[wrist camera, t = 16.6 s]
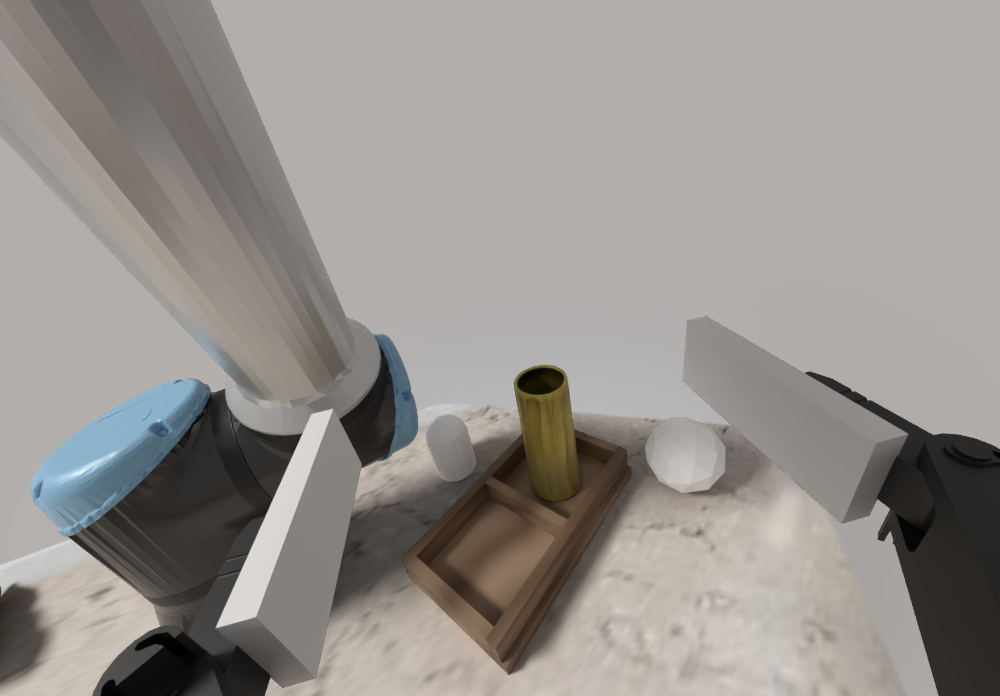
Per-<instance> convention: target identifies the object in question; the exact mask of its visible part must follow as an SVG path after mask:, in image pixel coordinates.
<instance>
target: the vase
mask: <svg viewBox="0 0 1000 696" xmlns="http://www.w3.org/2000/svg"><path fill="white" fill-rule="evenodd" d="M514 389H515V396H516V401H517V406H518V411H519V416H520V423H521V429H522V435H523V441H524V447H525V453H526V458H527V463H528V467H529V472H530V473H529V483H530V487H531V489H532V491H533V492H534V493H535V494H536V495H537V496H539V497H540V498H542V499H545V500H548V501H562V500H565V499H568V498H570V497H572V496H573V495H575V494H576V493H577V491H578V490H579V489H580V487H581V484H582V473H581V470H580V467H579V462H578V456H577V447H576V439H575V433H574V426H573V420H572V412H571V403H570V395H569V387H568V380H567V376H566V374H565V372H564V371H563V370H562V369H560V368H558V367H555V366H551V365H539V366H534V367H531V368H528V369H526V370H524V371H522V372H521V373H520V374H519V375H518V376H517V377H516V379H515V381H514Z"/></svg>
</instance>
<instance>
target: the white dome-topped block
mask: <svg viewBox="0 0 1000 696" xmlns="http://www.w3.org/2000/svg"><path fill="white" fill-rule="evenodd" d="M426 442H427V446H428V449H429V451H430V454H431V457H432V459H433V462H434V465H435V467H436V470H437V473H438V475H439V476H440V477H441V479H443V480H445V481H451V482H455V481H459V480H462V479H464V478H466V477H467V476H469V475H470V474H471V473H472V472H473V470H474V469H475V466H476V463H477V462H476V457H475V454H474V450H473V447H472V444H471V440H470V437H469V434H468V430H467V427H466V426H465V424H464V422H463V421H462V420H461V419H460V418H458V417H456V416H454V415H442V416H439V417H437V418H435V419H434V420H433V421H432V422H431V423H430V425H429V427H428V429H427V431H426Z"/></svg>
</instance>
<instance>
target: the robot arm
mask: <svg viewBox="0 0 1000 696" xmlns="http://www.w3.org/2000/svg"><path fill="white" fill-rule="evenodd" d="M0 137H1V138H2V139H3V140H4V141H5V142H6V143H7V144H8V145H9V146H10V147H11V148H12V149H13V150H14V151H15V152H16V153H17V155H18V156H19V157H20V158H21V159H22V160H23V161H24V162H25V163H26V164H27V165H28V166H29V167H30V168H31V169H32V170H33V171H34V172H35V173H36V174H37V175H38V176H39V177H40V179H41V180H42V181H43V182H44V183H45V184H46V185H47V186H48V187H49V188H50V189H51V190H52V191H53V192H54V193H55V194H56V195H57V196H58V197H59V198H60V200H61V201H63V203H64V204H65V205H66V206H67V207H68V208H69V209H70V210H71V211H72V212H73V213H74V214H75V215H76V216H77V217H78V218H79V219H80V220H81V221H82V222H83V224H84V225H85V226H86V227H87V228H89V230H90V231H91V232H92V233H93V234H94V235H95V236H96V237H97V238H98V239H99V240H100V241H101V242H102V243H103V244H104V246H105V247H106V248H107V249H108V250H109V251H110V252H111V253H112V254H113V255H114V256H115V257H116V258H117V259H118V260H119V261H120V262H121V263H122V264H123V265H124V266H125V267H126V268H127V270H128V271H129V272H130V273H131V274H132V275H133V276H134V277H135V278H136V279H137V280H138V281H139V282H140V283H141V284H142V285H143V286H144V287H145V288H146V289H147V290H148V292H149V293H151V295H152V296H153V297H154V298H155V299H156V300H157V301H158V302H159V303H160V304H161V305H162V306H163V307H164V308H165V309H166V310H167V311H168V312H169V313H170V315H172V317H173V318H174V319H176V321H177V322H178V323H179V324H180V325H181V326H182V327H183V328H184V329H185V330H186V331H187V332H188V333H189V334H190V335H191V336H192V338H193V339H194V340H195V341H196V342H197V343H198V344H199V345H200V346H201V347H202V348H203V349H204V350H205V351H206V352H207V353H208V354H209V355H210V356H211V357H212V358H213V359H214V361H215V362H216V363H217V364H218V365H219V366H220V367H221V368H222V369H223V370H224V371H225V372H226V373H227V374H228V377H227V381H226V388H225V389H223V390H220V391H217V392H213V393H211V390H210V388H209V386H208V385H207V384H204V383H202V382H201V381H199V380H197V379H193V378H187V379H185V380H175V381H172V382H168V383H165V384H163V385H160V386H158V387H155V388H153V389H151V390H148V391H146V392H144V393H142V394H140V395H138V396H136V397H134V398H132V399H130V400H128V401H126V402H124V403H122V404H121V405H119V406H117V407H115V408H114V409H112V410H110V411H109V412H107V413H105V414H104V415H102V416H100V417H99V418H97V419H96V420H94V421H93V422H91V423H90V424H89V425H87V426H86V427H84V428H83V429H81V430H80V431H79V432H77V433H76V434H75V435H73V436H72V437H71V438H70V439H68V440H67V441H66V442H65V443H63V444H62V445H61V446H60V447H59V448H58V449H57V450H55V451H54V452H53V453H52V454H51V455H50V456H49V457H48V459H47V460H46V461H45V462H44V463H43V464H42V465H41V467H40V468H39V469H38V471H37V473H36V474H35V476H34V478H33V481H32V484H31V489H30V492H31V497H32V499H33V501H34V503H35V504H36V505H37V506H38V507H39V508H40V509H41V510H42V511H43V512H44V513H45V514H46V515H47V516H48V517H49V518H50V519H51V521H53V523H54V524H55V525H56V526H57V527H58V531H59V533H60V534H61V535H64V536H66V537H67V536H68V537H69V538H70V539H72V540H73V541H74V542H76V543H77V544H78V545H79V546H81V547H82V548H83V549H84V550H86V551H87V552H88V553H89V554H91V555H92V556H93V557H95V558H96V559H97V560H98V561H100V562H101V563H102V564H103V565H105V566H106V567H107V568H108V569H110V570H111V571H112V572H113V573H115V574H116V575H117V576H119V577H120V578H121V579H122V580H124V581H125V582H126V583H127V584H129V585H130V586H131V587H132V588H134V589H135V590H136V591H137V592H138V593H140V594H141V595H143V596H144V597H145V598H146V599H147V600H149V601H150V602H151V603H152V604H153V605H154V608H155V611H156V615H157V618H158V621H159V624H160V627H158V628H156V629H153V630H150V631H149V632H147V633H146V634H144V635H143V636H141V637H140V638H138V639H137V640H135V641H134V642H133V643H132V644H130V645H129V646H128V647H127V648H126V649H125V650H124V651H123V652H122V653H121V654H119V655H118V656H117V657H116V659H115V660H114V661H113V662H112V664H111V665H110V666H109V667H108V669H107V670H106V671H105V672H104V673H103V675H102V677H101V679H100V681H99V682H98V684H97V686H96V688H95V690H94V692H93V696H265V693H266V690H267V686H268V683H269V680H270V677H271V678H272V679H273V680H274V681H275V682H276V683H277V684H278V685H280V686H281V687H282V688H284V687H288V686H291V685H294V684H298V683H301V682H305V681H308V680H312V679H315V678H316V677H317V673H318V668H319V663H320V658H321V654H322V649H323V644H324V640H325V635H326V630H327V626H328V621H329V616H330V612H331V607H332V602H333V597H334V593H335V588H336V583H337V579H338V574H339V569H340V565H341V560H342V555H343V551H344V546H345V541H346V536H347V532H348V527H349V522H350V518H351V513H352V508H353V504H354V499H355V494H356V490H357V485H358V480H359V476H360V471H361V468H364V467H366V466H368V465H370V464H372V463H374V462H376V461H378V460H379V461H382V460H385V459H388V458H389V457H390V456H391V455H392V454H393V453H395V452H396V451H398V450H400V449H402V448H404V447H406V446H408V445H409V444H410V443H411V442H412V441H413V440H414V439H415V437H416V435H417V431H418V415H417V409H416V404H415V400H414V397H413V395H412V393H411V386H410V382H409V378H408V375H407V372H406V370H405V367H404V364H403V362H402V360H401V357H400V355H399V353H398V351H397V349H396V347H395V345H394V344H393V342H392V341H391V339H390V338H389V337H387V336H386V335H384V334H376V335H374V334H372V333H371V332H370V331H369V330H368V329H367V328H366V327H365V326H364V325H362V324H361V323H359V322H357V321H355V320H353V319H350V318H347V317H346V316H345V313H344V311H343V309H342V306H341V304H340V302H339V299H338V297H337V295H336V292H335V290H334V288H333V286H332V283H331V281H330V278H329V276H328V274H327V272H326V269H325V267H324V265H323V262H322V260H321V258H320V255H319V253H318V250H317V248H316V246H315V244H314V241H313V239H312V237H311V234H310V232H309V230H308V227H307V225H306V223H305V220H304V218H303V216H302V213H301V211H300V209H299V206H298V204H297V202H296V199H295V197H294V195H293V192H292V190H291V188H290V185H289V183H288V181H287V178H286V176H285V174H284V171H283V169H282V166H281V164H280V162H279V160H278V157H277V155H276V153H275V150H274V148H273V145H272V143H271V141H270V138H269V136H268V134H267V131H266V129H265V127H264V124H263V122H262V120H261V117H260V115H259V113H258V110H257V108H256V106H255V104H254V101H253V99H252V96H251V94H250V92H249V89H248V87H247V85H246V82H245V80H244V78H243V75H242V73H241V71H240V68H239V66H238V64H237V61H236V59H235V57H234V54H233V52H232V49H231V47H230V45H229V42H228V40H227V38H226V36H225V33H224V31H223V29H222V26H221V24H220V21H219V19H218V17H217V14H216V12H215V10H214V7H213V5H212V3H211V0H0ZM683 382H684V383H685V384H686V385H687V386H688V387H690V388H691V389H692V390H693V391H694V392H695V393H696V394H697V395H698V396H700V397H701V398H702V399H703V400H704V401H705V402H706V403H707V404H709V405H710V406H711V407H712V408H713V409H714V410H715V411H716V412H717V413H719V414H720V415H721V416H722V417H723V418H724V419H725V420H726V421H728V422H729V423H730V424H731V425H732V426H733V427H734V428H735V429H736V430H738V431H739V432H740V433H741V434H742V435H743V436H744V437H745V438H746V439H748V440H749V441H750V442H751V443H752V444H753V445H754V446H755V447H757V448H758V449H759V450H760V451H761V452H762V453H763V454H764V455H765V456H767V457H768V458H769V459H770V460H771V461H772V462H773V463H774V464H776V465H777V466H778V467H779V468H780V469H781V470H782V471H783V472H784V473H786V474H787V475H788V476H789V477H790V478H791V479H792V480H793V481H794V482H796V483H797V484H798V485H799V486H800V487H801V488H802V489H803V490H805V491H806V492H807V493H808V494H809V495H810V496H811V497H812V498H813V499H815V500H816V501H817V502H818V503H819V504H820V505H821V506H822V507H824V508H825V509H826V510H827V511H828V512H829V513H830V514H831V515H833V516H834V517H835V518H836V519H837V520H838V521H839V522H840V523H841V524H842V523H846V522H849V521H853V520H856V519H860V518H863V517H866V516H869V515H870V513H871V511H872V509H873V507H874V505H875V503H876V501H877V499H878V500H880V501H881V502H882V503H884V504H885V505H886V506H887V507H889V508H890V511H889V513H888V515H887V516H886V518H885V520H884V522H883V524H882V526H881V528H880V530H879V532H878V540H881V541H884V540H885V538H886V536H887V535H888V533H889V532H890V531H891V534H892V537H893V540H894V541H893V544H895V547H896V551H897V554H898V557H899V561H900V564H901V568H902V571H903V575H904V578H905V582H906V585H907V588H908V592H909V595H910V599H911V602H912V606H913V609H914V612H915V616H916V619H917V623H918V626H919V630H920V633H921V637H922V640H923V643H924V647H925V650H926V653H927V657H928V660H929V664H930V667H931V671H932V674H933V678H934V681H935V685H936V688H937V691H938V695H939V696H1000V449H998V448H997V447H995V446H993V445H991V444H988V443H985V442H983V441H980V440H978V439H975V438H971V437H966V436H962V435H956V434H938V435H932V434H930V433H928V432H927V431H925V430H923V429H921V428H919V427H918V426H916V425H914V424H912V423H910V422H909V421H907V420H905V419H903V418H902V417H900V416H898V415H896V414H894V413H893V412H891V411H889V410H887V409H885V408H883V407H882V406H880V405H878V404H876V403H875V402H873V401H871V400H870V401H868V400H867V398H866V397H864V396H862V395H860V394H859V393H857V392H855V391H854V392H852V391H851V389H850V388H848V387H846V386H844V385H842V384H841V383H839V382H837V381H835V380H833V379H831V378H828V377H825V376H822V375H819V374H816V373H813V372H806V373H803V372H802V371H800V370H798V369H796V368H795V367H793V366H791V365H790V364H788V363H786V362H784V361H783V360H781V359H779V358H777V357H776V356H774V355H772V354H771V353H769V352H767V351H765V350H764V349H762V348H760V347H759V346H757V345H755V344H754V343H752V342H750V341H748V340H747V339H745V338H743V337H742V336H740V335H738V334H737V333H735V332H733V331H731V330H730V329H728V328H726V327H725V326H723V325H721V324H719V323H718V322H716V321H714V320H712V319H711V318H709V317H707V316H704V317H700V318H696V319H692V320H688V321H687V328H686V341H685V355H684V369H683Z"/></svg>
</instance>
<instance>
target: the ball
mask: <svg viewBox="0 0 1000 696" xmlns="http://www.w3.org/2000/svg"><path fill="white" fill-rule="evenodd" d="M645 452H646V461H647V462H648V464H649V466H650V467H651V469H652V471H653V472H654V474H655V476H656V477H657V479H658V481H659V482H661V483H663V484H665V485H667V486H669V487H671V488H673V489H675V490H677V491H679V492H681V493H688V492H696V491H704V490H709V488H710V487H711V486H712V485H713V484H714V483H715V482H716V481H717V480H718V479H719V478H720V477H721V476H722V475H723V474H724V472H725V446H724V444H723V443H722V442H721V440H720V439H719V438H718V436H717V435H716V434H715V433H714V431H713V430H712V429H711V427H710V426H708V425H705V424H702V423H699V422H697V421H694V420H691V419H688V418H670V419H668V420H666V421H665V422H663V423H661V424H660V425H658V426H656V427H655V428H653V430H652V432H651V434H650V436H649V438H648V440H647V443H646V445H645Z"/></svg>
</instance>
